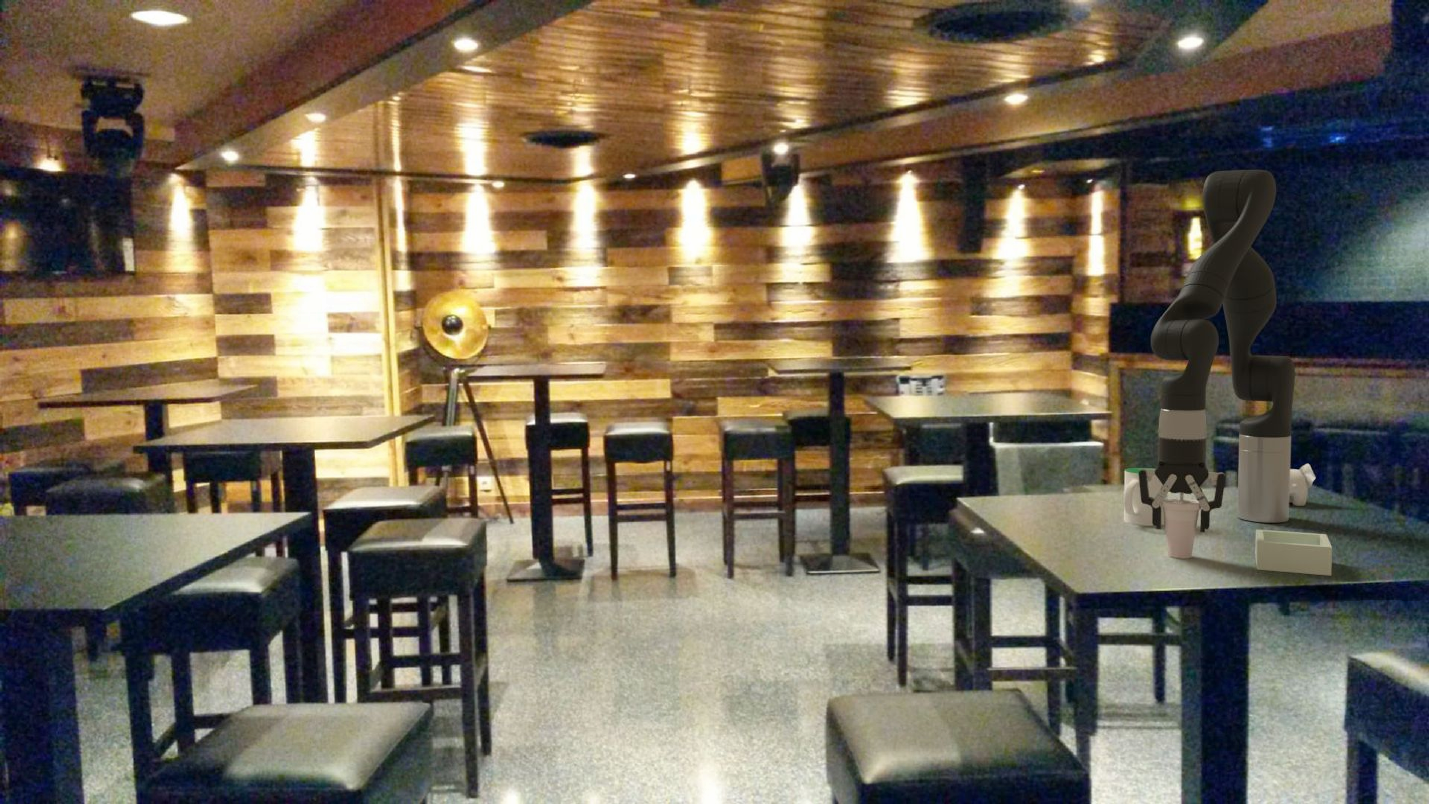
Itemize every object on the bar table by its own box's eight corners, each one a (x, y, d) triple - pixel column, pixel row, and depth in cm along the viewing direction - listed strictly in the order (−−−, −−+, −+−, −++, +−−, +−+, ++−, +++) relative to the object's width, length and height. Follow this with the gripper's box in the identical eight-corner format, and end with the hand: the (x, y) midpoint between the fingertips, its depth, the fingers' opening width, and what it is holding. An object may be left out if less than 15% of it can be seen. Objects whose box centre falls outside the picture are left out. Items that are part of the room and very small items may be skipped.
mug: (1149, 530, 197) (1150, 478, 196) (1109, 525, 203) (1110, 474, 202) (1173, 521, 206) (1174, 470, 205) (1133, 516, 211) (1134, 466, 210)
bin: (1255, 555, 176) (1255, 529, 176) (1325, 560, 171) (1326, 534, 171) (1257, 569, 167) (1257, 542, 166) (1331, 575, 162) (1332, 547, 162)
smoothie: (1202, 554, 178) (1204, 475, 176) (1197, 562, 172) (1199, 481, 171) (1162, 550, 181) (1164, 473, 180) (1157, 557, 176) (1158, 478, 174)
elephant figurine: (1296, 498, 228) (1297, 459, 227) (1320, 508, 216) (1321, 467, 215) (1251, 497, 229) (1252, 459, 228) (1272, 507, 217) (1273, 467, 216)
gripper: (1228, 434, 175) (1226, 529, 176) (1139, 431, 181) (1137, 522, 183) (1229, 439, 168) (1226, 537, 170) (1135, 436, 175) (1134, 531, 176)
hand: (1180, 529), depth 176 cm, fingers closed on smoothie, 6 cm apart
